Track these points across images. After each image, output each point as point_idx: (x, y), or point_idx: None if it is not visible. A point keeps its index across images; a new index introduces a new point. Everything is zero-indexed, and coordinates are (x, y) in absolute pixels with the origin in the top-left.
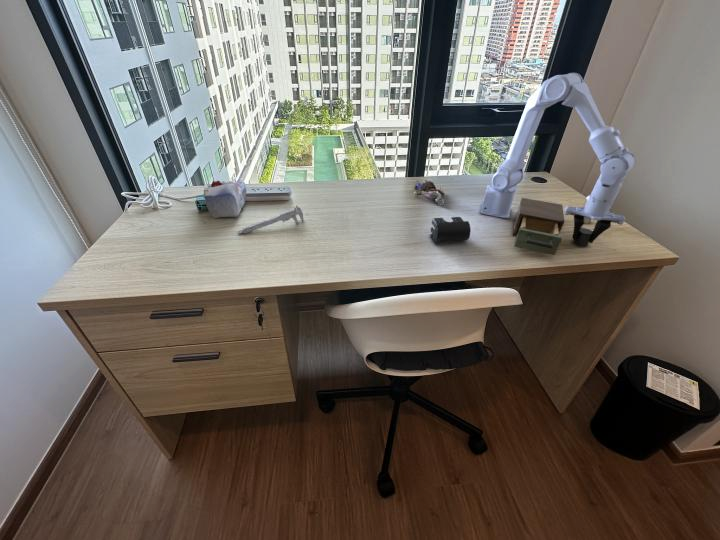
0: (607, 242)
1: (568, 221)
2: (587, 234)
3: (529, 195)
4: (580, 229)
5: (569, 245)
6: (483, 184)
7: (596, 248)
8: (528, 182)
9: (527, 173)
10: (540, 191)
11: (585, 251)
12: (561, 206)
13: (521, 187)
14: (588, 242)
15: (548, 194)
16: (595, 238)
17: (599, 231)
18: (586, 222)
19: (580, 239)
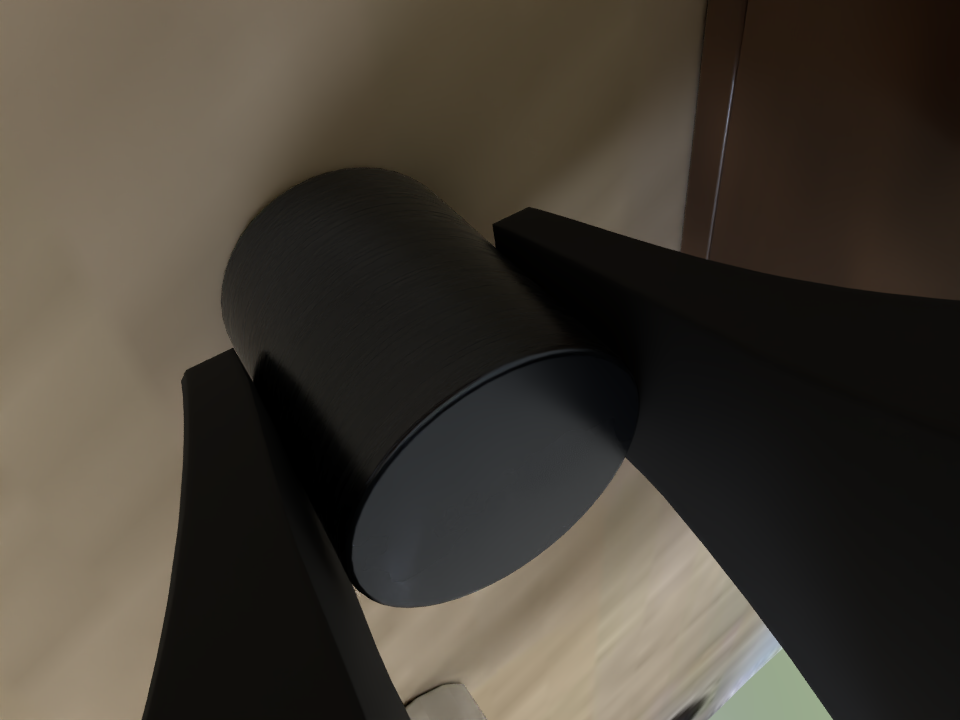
0: (13, 686)
1: (537, 600)
2: (458, 382)
3: (741, 602)
4: (613, 443)
5: (489, 75)
6: None
7: (27, 390)
8: (719, 677)
9: (708, 715)
10: (679, 678)
11: (141, 49)
12: None
13: (760, 620)
14: (252, 347)
15: (645, 697)
16: (188, 474)
17: (256, 710)
18: None
19: (449, 243)
